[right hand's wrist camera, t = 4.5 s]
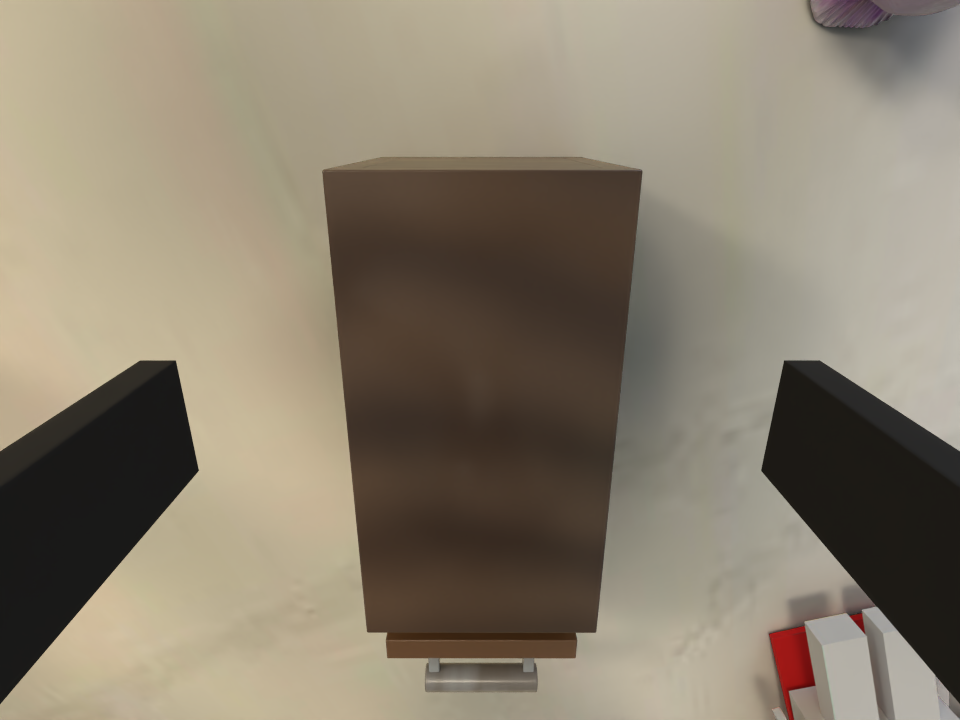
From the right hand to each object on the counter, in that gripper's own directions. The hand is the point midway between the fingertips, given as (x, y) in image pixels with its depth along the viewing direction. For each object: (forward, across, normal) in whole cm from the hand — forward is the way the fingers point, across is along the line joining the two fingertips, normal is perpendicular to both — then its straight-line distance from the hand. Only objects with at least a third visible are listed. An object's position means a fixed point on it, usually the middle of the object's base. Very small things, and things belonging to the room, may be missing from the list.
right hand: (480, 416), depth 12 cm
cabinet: (+20, 0, -5) cm, 21 cm away
